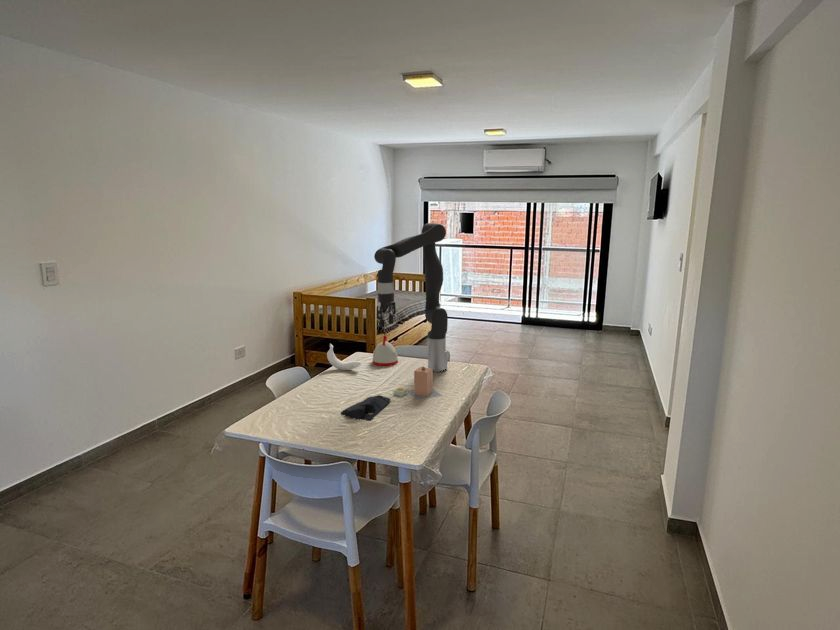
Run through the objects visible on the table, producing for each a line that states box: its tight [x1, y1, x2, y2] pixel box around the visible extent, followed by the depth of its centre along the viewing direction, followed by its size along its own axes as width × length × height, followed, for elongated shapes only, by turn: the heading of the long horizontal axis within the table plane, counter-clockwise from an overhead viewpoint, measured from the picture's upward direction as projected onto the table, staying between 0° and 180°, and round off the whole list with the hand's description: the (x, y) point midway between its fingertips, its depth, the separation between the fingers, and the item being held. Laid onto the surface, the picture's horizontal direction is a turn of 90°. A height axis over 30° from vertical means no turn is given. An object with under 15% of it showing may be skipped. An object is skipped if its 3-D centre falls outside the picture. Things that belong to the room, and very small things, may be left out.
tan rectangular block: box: [413, 366, 434, 396], centre depth 222 cm, size 6×6×12 cm
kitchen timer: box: [372, 334, 399, 367], centre depth 272 cm, size 14×14×15 cm
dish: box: [393, 387, 408, 397], centre depth 223 cm, size 4×4×3 cm
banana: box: [326, 343, 362, 371], centre depth 259 cm, size 5×19×15 cm, turn 79°
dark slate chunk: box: [340, 394, 391, 421], centre depth 207 cm, size 15×22×5 cm
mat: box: [407, 388, 443, 401], centre depth 224 cm, size 12×12×1 cm
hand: (386, 325), depth 235 cm, fingers open, 8 cm apart
